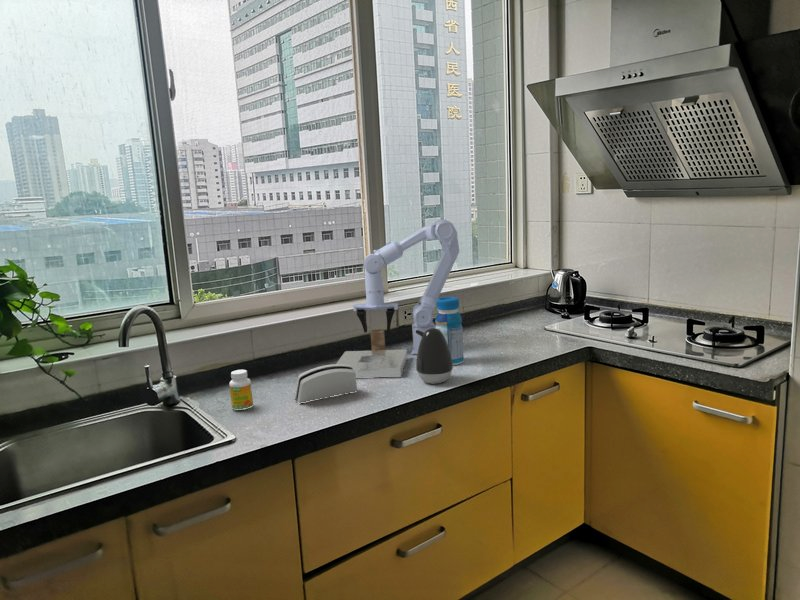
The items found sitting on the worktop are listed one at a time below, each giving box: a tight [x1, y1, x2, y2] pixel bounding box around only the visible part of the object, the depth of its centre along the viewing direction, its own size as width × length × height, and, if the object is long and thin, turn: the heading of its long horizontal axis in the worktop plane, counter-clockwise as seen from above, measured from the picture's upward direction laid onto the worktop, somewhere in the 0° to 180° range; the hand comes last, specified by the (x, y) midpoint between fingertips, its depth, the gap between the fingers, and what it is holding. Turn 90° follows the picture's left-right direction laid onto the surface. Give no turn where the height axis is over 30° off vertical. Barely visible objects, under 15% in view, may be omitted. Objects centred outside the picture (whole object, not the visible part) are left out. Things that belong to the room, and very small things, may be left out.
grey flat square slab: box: [335, 349, 408, 379], centre depth 183 cm, size 20×20×3 cm
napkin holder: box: [293, 363, 358, 403], centre depth 159 cm, size 17×5×10 cm, turn 116°
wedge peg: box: [370, 329, 387, 351], centre depth 199 cm, size 4×4×8 cm
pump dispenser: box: [415, 328, 454, 384], centre depth 166 cm, size 10×10×15 cm
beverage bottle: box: [434, 296, 465, 366], centre depth 183 cm, size 8×8×20 cm
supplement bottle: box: [229, 369, 254, 409], centre depth 155 cm, size 5×5×10 cm
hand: (377, 331), depth 198 cm, fingers open, 7 cm apart
